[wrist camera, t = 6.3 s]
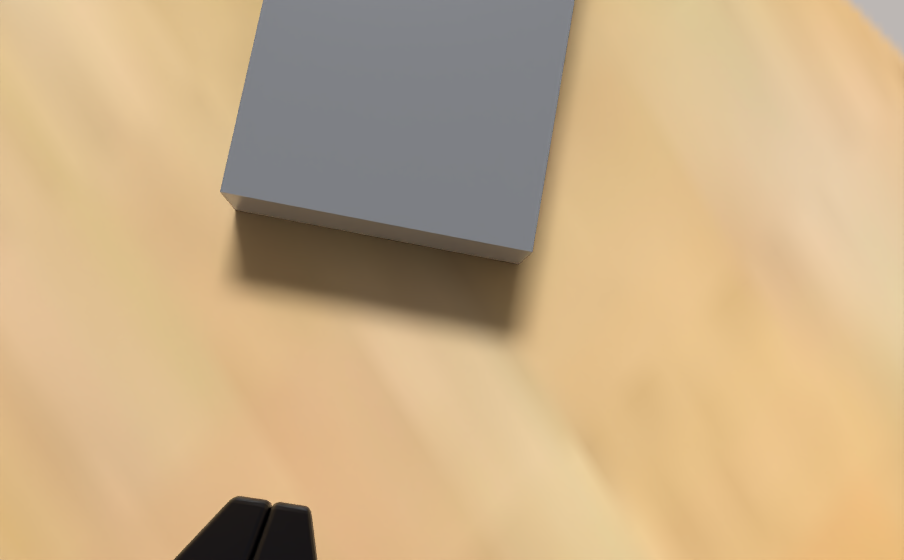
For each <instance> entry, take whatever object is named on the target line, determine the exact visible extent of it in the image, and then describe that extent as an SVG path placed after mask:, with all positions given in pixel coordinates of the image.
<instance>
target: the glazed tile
mask: <svg viewBox="0 0 904 560" xmlns="http://www.w3.org/2000/svg"><path fill="white" fill-rule="evenodd" d="M574 1H575V0H263V4H262V8H261V13H260V17H259V22H258V26H257V30H256V35H255V39H254V44H253V48H252V53H251V57H250V62H249V66H248V70H247V75H246V79H245V84H244V88H243V93H242V97H241V101H240V106H239V110H238V115H237V119H236V124H235V128H234V133H233V137H232V141H231V146H230V150H229V155H228V159H227V164H226V168H225V173H224V177H223V181H222V186H221V190H220V192H221V193H222V195H223V196H224V197H225V198H226V199H227V201H228V202H229V203H230V204H231V205H232V207H233V208H234V209H235V210H238V211H243V212H249V213H254V214H259V215H264V216H269V217H275V218H280V219H285V220H290V221H296V222H301V223H306V224H311V225H316V226H322V227H327V228H332V229H337V230H343V231H348V232H353V233H358V234H363V235H369V236H374V237H379V238H384V239H389V240H395V241H400V242H405V243H410V244H416V245H421V246H426V247H431V248H436V249H442V250H447V251H452V252H457V253H463V254H468V255H473V256H478V257H483V258H489V259H494V260H499V261H504V262H510V263H515V264H520V263H521V262H522V261H523V260H524V259H525V258H526V257H527V256H528V255H530V254H531V253H532V251H533V245H534V239H535V233H536V227H537V221H538V215H539V209H540V203H541V198H542V192H543V186H544V180H545V174H546V168H547V162H548V156H549V150H550V144H551V138H552V132H553V126H554V120H555V114H556V108H557V102H558V96H559V90H560V84H561V78H562V72H563V66H564V60H565V54H566V48H567V42H568V37H569V31H570V25H571V19H572V13H573V7H574Z"/></svg>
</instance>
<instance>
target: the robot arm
mask: <svg viewBox="0 0 904 560" xmlns="http://www.w3.org/2000/svg"><path fill="white" fill-rule="evenodd" d="M174 560H317V554H316V546H315V538H314V530H313V522H312V515H311V511H310V509H309V508H308V507H307V506H302V505H295V504H289V503H282V502H278V503H275V504H274V505H273V506H272V505H271V503H270V502H269V501H267V500H263V499H256V498H250V497H243V496H237V497H235V498H233V499H231V500H230V501H229V502H228V503H227V504H226V505H225V506H224V507H223V508H222V509H221V510H220V511H219V512H218V513H217V514H216V515H215V517H214V518H213V519H212V520H211V521H210V522H209V523H208V524H207V525H206V526H205V527H204V528H203V529H202V530H201V531H200V532H199V533H198V535H197V536H196V537H195V538H194V539H193V540H192V541H191V542H190V543H189V544H188V545H187V546H186V547H185V548H184V549H183V550H182V551H181V553H180V554H179V555H178V556H177V557H176V558H175V559H174Z"/></svg>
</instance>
